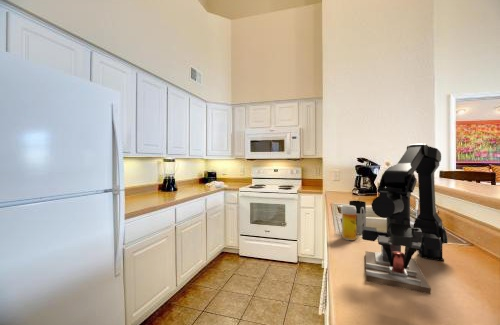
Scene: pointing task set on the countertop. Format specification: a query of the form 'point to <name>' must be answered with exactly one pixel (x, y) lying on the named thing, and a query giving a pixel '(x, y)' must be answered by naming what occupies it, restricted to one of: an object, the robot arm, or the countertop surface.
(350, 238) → the beer can
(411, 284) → the base
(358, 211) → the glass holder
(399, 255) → the lever
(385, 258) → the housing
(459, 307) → the countertop surface
